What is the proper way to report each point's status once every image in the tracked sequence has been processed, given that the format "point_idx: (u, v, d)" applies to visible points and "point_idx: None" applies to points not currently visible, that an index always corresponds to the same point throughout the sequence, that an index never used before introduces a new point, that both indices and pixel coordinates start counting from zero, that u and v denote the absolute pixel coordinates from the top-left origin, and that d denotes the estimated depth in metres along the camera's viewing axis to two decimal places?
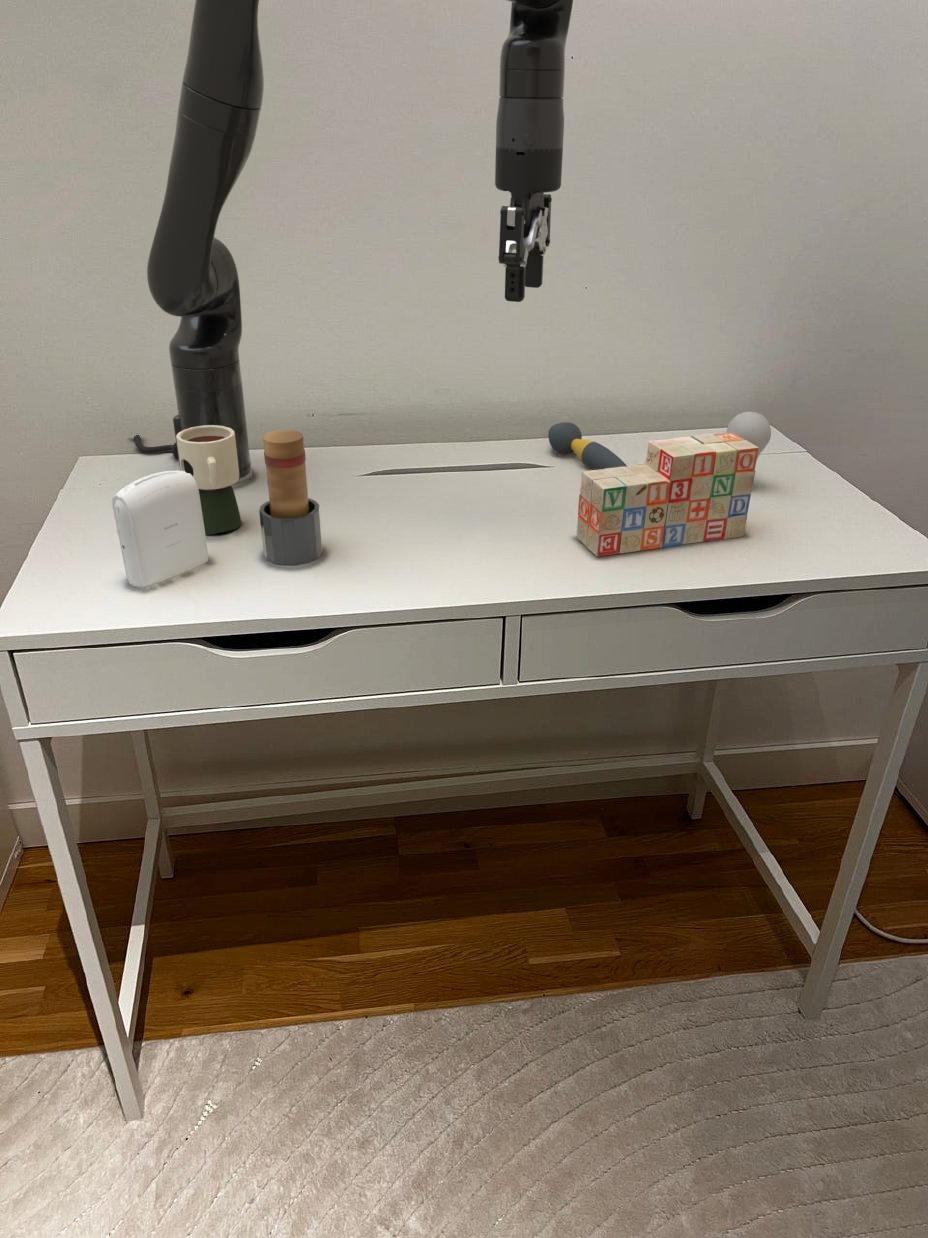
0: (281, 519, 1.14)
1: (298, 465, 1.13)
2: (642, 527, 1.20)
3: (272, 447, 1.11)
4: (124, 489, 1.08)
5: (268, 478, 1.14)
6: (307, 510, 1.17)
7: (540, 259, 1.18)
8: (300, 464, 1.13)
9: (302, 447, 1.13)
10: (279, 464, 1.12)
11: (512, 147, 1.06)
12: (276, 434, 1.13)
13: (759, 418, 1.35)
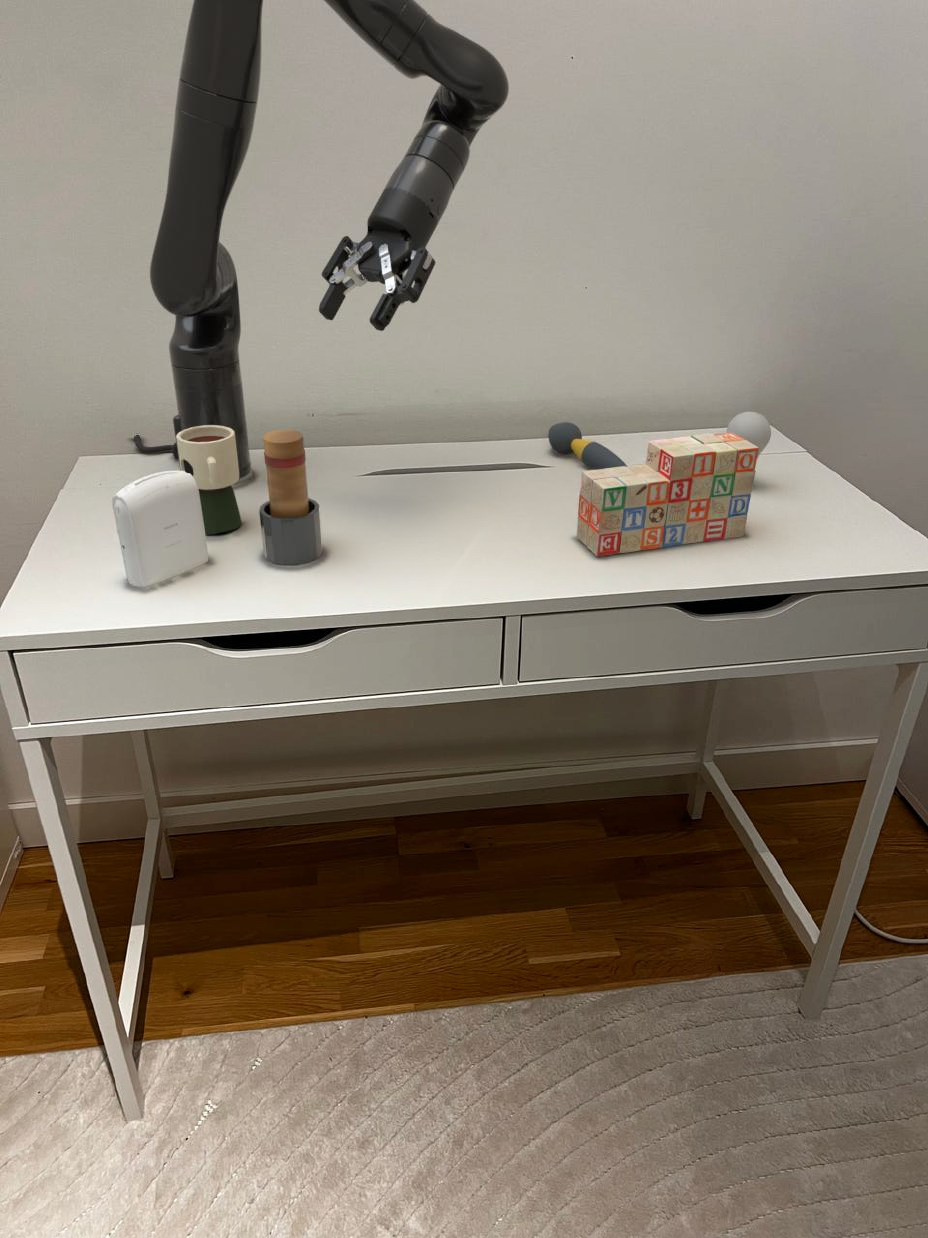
0: (281, 519, 1.14)
1: (298, 465, 1.13)
2: (642, 527, 1.20)
3: (272, 447, 1.11)
4: (124, 489, 1.08)
5: (268, 478, 1.14)
6: (307, 510, 1.17)
7: (343, 297, 1.19)
8: (300, 464, 1.13)
9: (302, 447, 1.13)
10: (279, 464, 1.12)
11: (428, 205, 1.14)
12: (276, 434, 1.13)
13: (759, 418, 1.35)
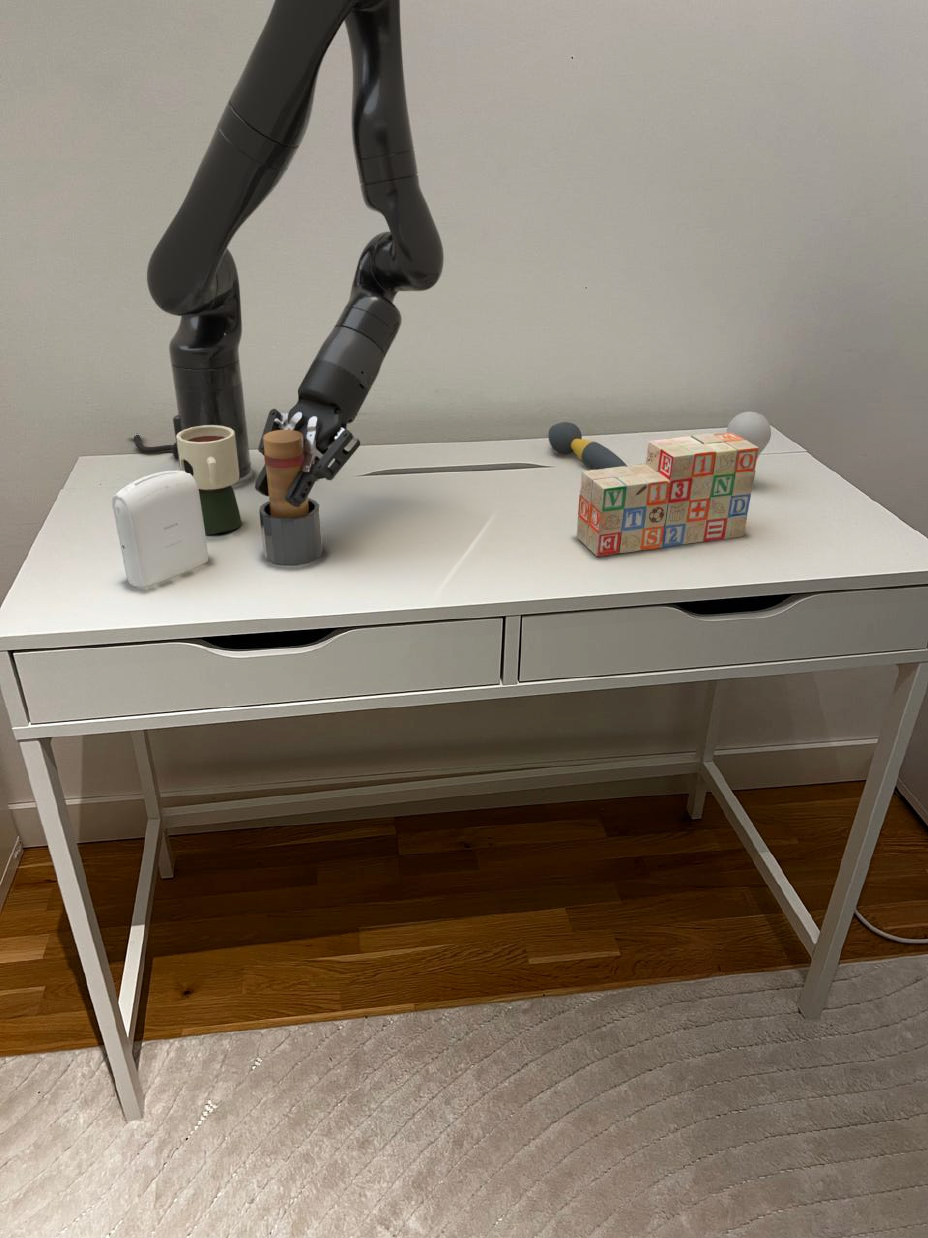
0: (281, 519, 1.14)
1: (298, 465, 1.13)
2: (642, 527, 1.20)
3: (271, 447, 1.11)
4: (124, 489, 1.08)
5: (268, 478, 1.14)
6: (307, 510, 1.17)
7: None
8: (300, 464, 1.13)
9: (302, 447, 1.13)
10: (279, 464, 1.12)
11: (358, 377, 1.14)
12: (276, 434, 1.13)
13: (759, 418, 1.35)
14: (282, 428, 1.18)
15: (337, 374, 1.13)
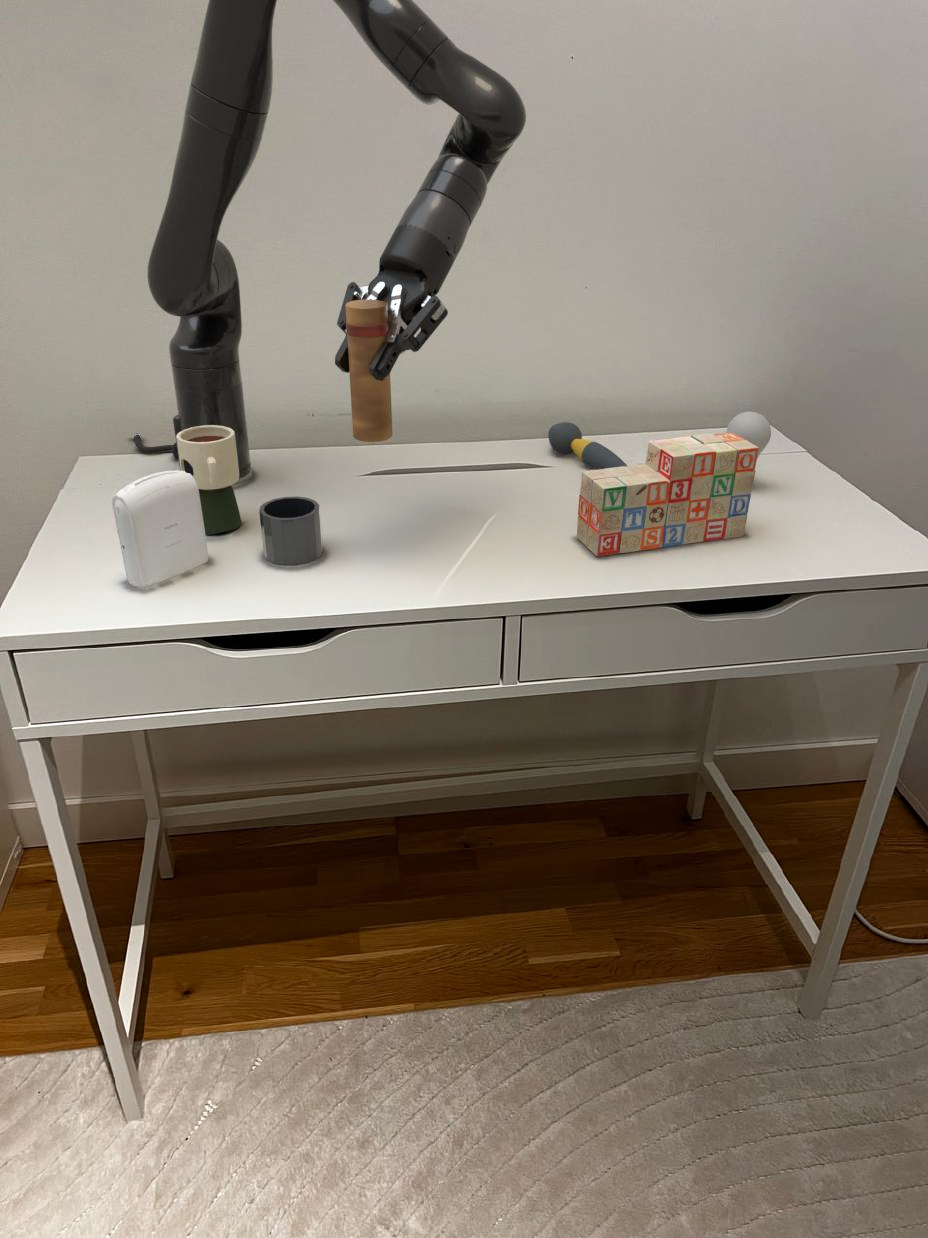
0: (281, 519, 1.14)
1: (383, 334, 1.06)
2: (642, 527, 1.20)
3: (355, 314, 1.05)
4: (124, 489, 1.08)
5: (350, 350, 1.07)
6: (389, 387, 1.10)
7: None
8: (384, 334, 1.07)
9: (386, 316, 1.06)
10: (362, 332, 1.05)
11: (445, 243, 1.08)
12: (359, 303, 1.06)
13: (759, 418, 1.35)
14: None
15: (423, 238, 1.07)
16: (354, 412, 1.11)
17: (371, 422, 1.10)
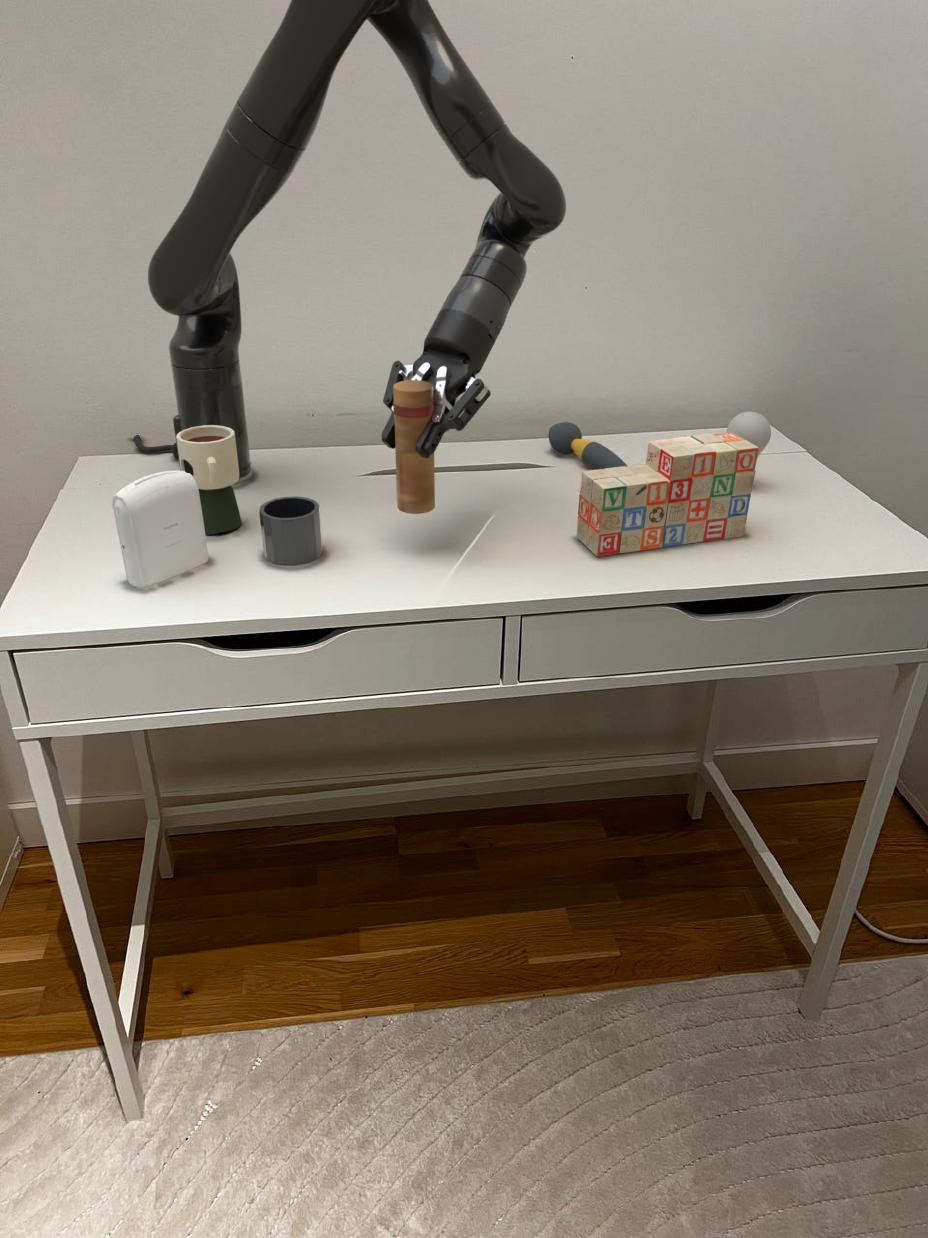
0: (281, 519, 1.14)
1: (429, 415, 1.11)
2: (642, 527, 1.20)
3: (403, 396, 1.10)
4: (124, 489, 1.08)
5: (397, 429, 1.12)
6: (433, 462, 1.15)
7: None
8: (430, 414, 1.12)
9: (432, 397, 1.11)
10: (410, 413, 1.10)
11: (488, 326, 1.13)
12: (406, 384, 1.11)
13: (759, 418, 1.35)
14: (406, 380, 1.17)
15: (467, 323, 1.12)
16: (399, 485, 1.16)
17: (415, 495, 1.15)
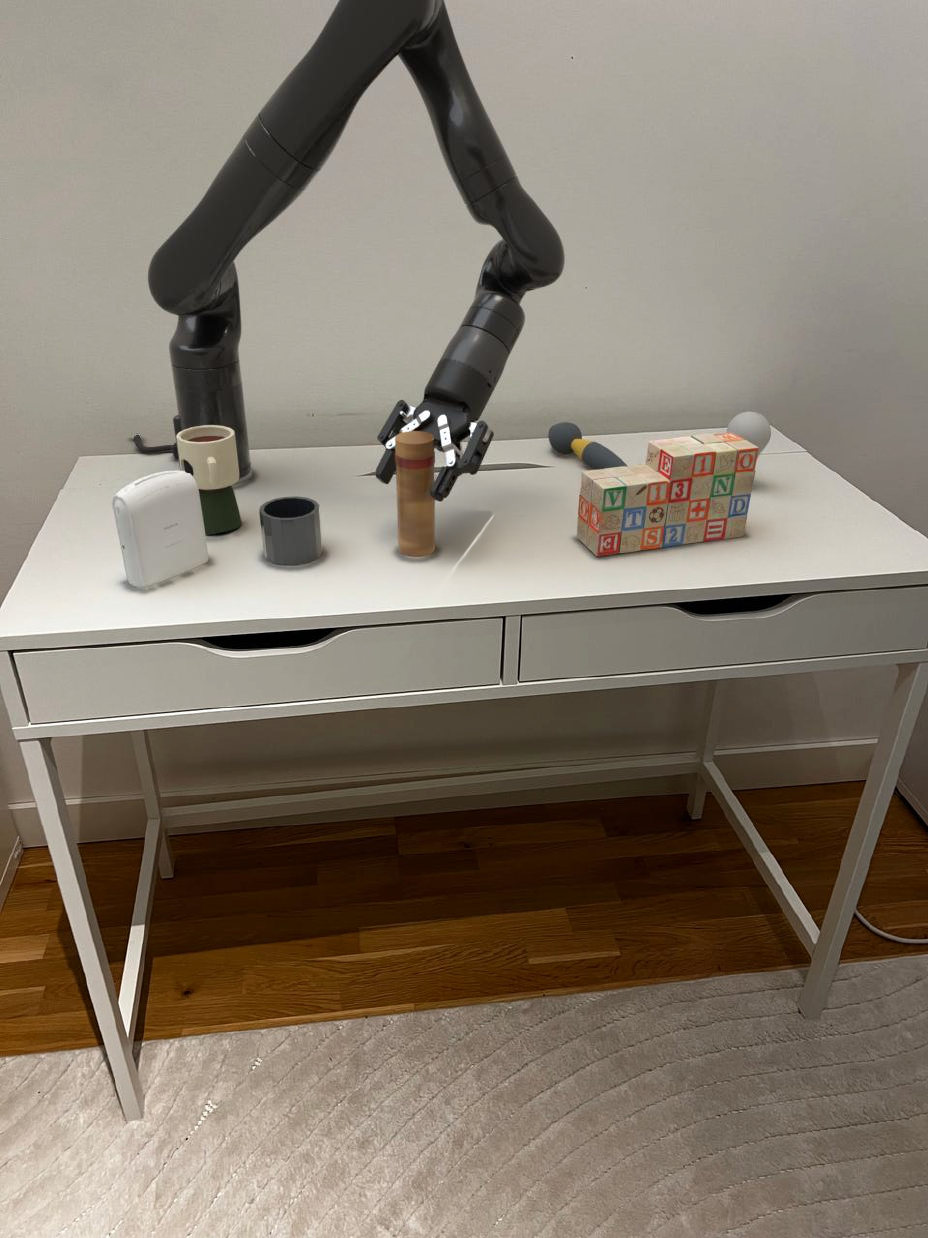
0: (281, 519, 1.14)
1: (429, 465, 1.14)
2: (642, 527, 1.20)
3: (405, 448, 1.13)
4: (124, 489, 1.08)
5: (398, 479, 1.15)
6: (434, 510, 1.18)
7: None
8: (431, 465, 1.15)
9: (433, 448, 1.14)
10: (411, 465, 1.13)
11: (486, 376, 1.16)
12: (407, 436, 1.14)
13: (759, 418, 1.35)
14: (405, 421, 1.20)
15: (467, 373, 1.15)
16: (400, 533, 1.19)
17: (416, 542, 1.18)
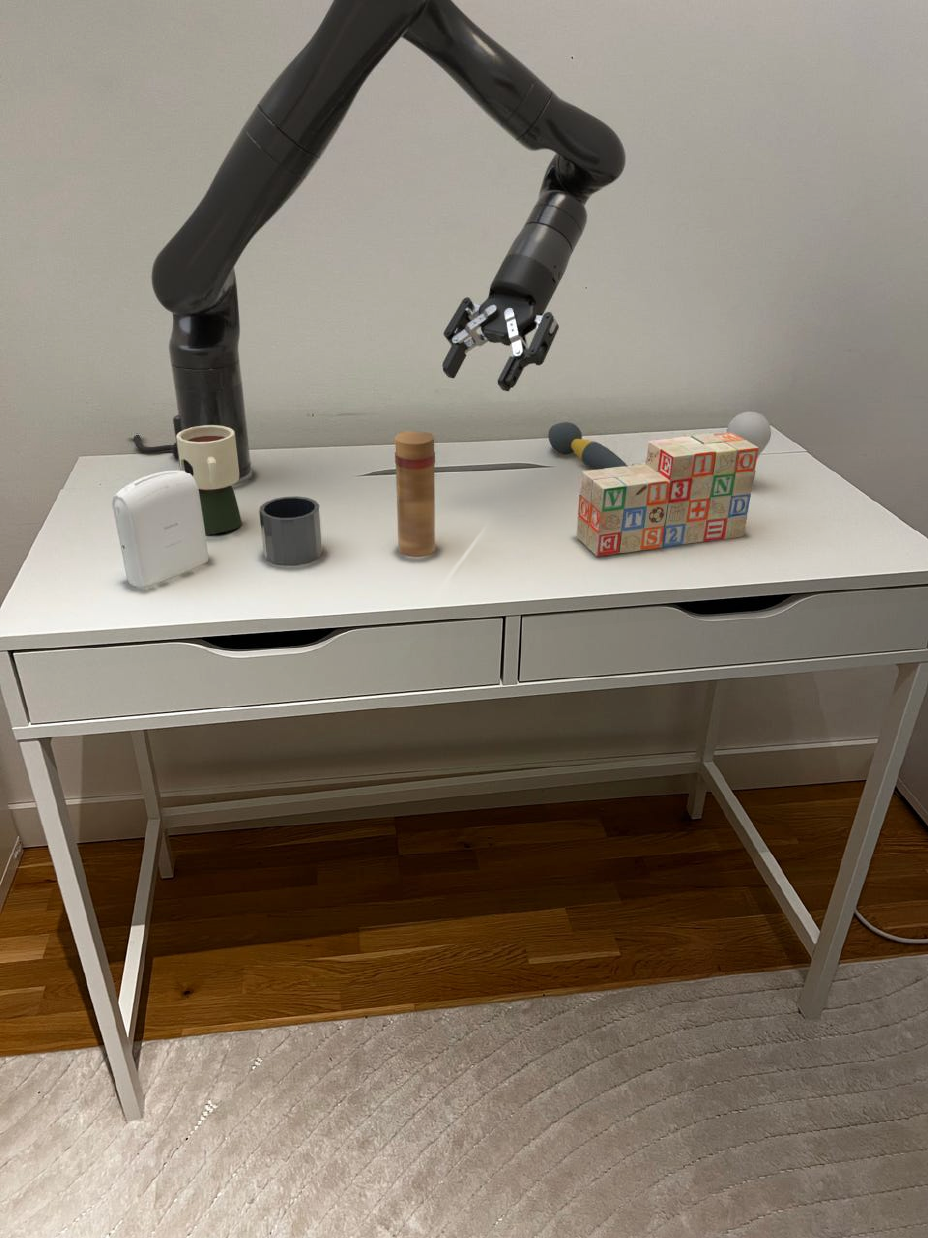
0: (281, 519, 1.14)
1: (429, 465, 1.14)
2: (642, 527, 1.20)
3: (405, 448, 1.13)
4: (124, 489, 1.08)
5: (398, 479, 1.15)
6: (434, 510, 1.18)
7: (464, 356, 1.23)
8: (431, 465, 1.15)
9: (433, 448, 1.14)
10: (411, 465, 1.13)
11: (552, 271, 1.20)
12: (407, 436, 1.14)
13: (759, 418, 1.35)
14: (470, 318, 1.24)
15: (533, 267, 1.18)
16: (400, 533, 1.19)
17: (416, 542, 1.18)
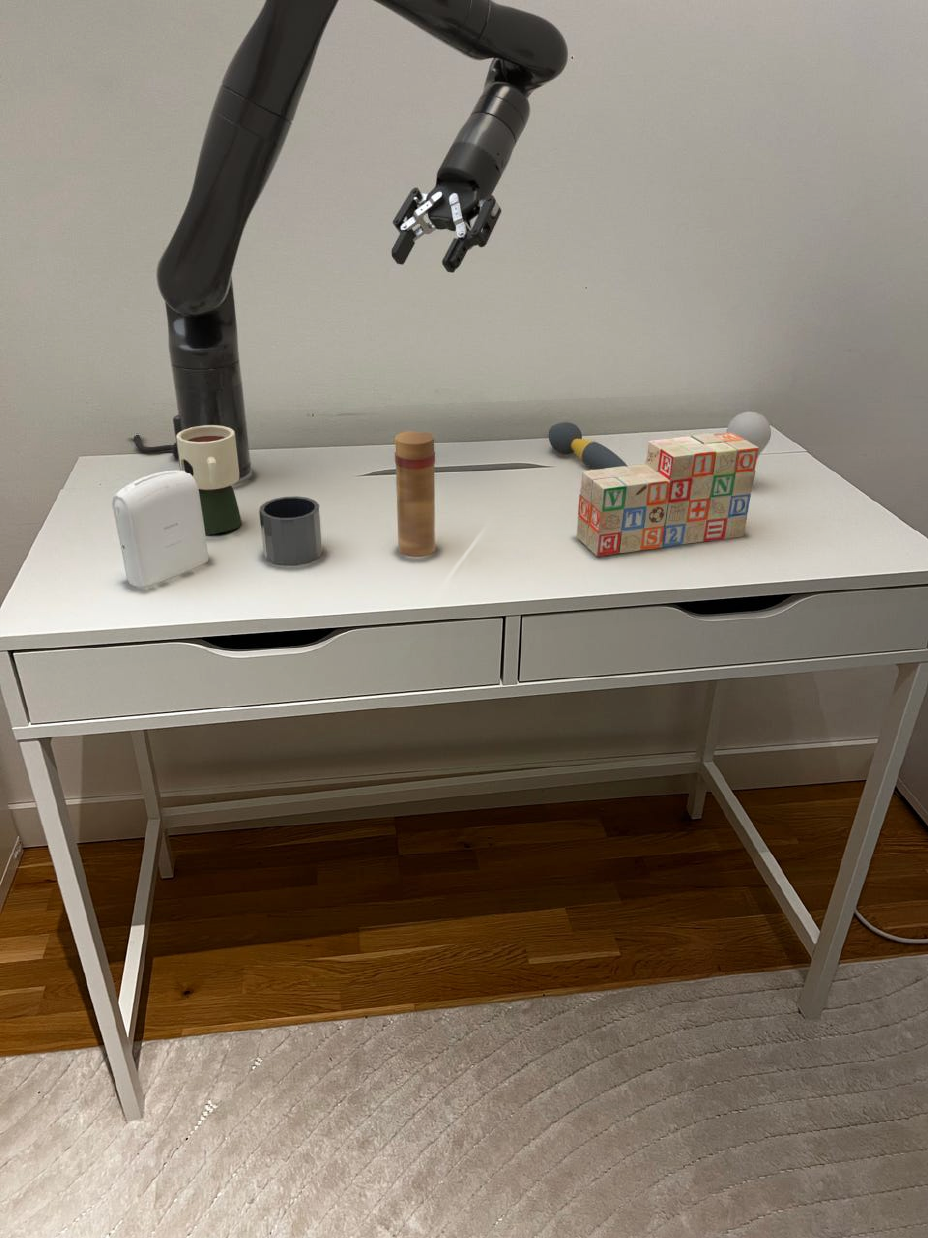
0: (281, 519, 1.14)
1: (429, 465, 1.14)
2: (642, 527, 1.20)
3: (405, 448, 1.13)
4: (124, 489, 1.08)
5: (398, 479, 1.15)
6: (434, 510, 1.18)
7: (413, 244, 1.29)
8: (431, 465, 1.15)
9: (433, 448, 1.14)
10: (411, 465, 1.13)
11: (494, 158, 1.25)
12: (407, 436, 1.14)
13: (759, 418, 1.35)
14: (419, 207, 1.29)
15: (476, 153, 1.24)
16: (400, 533, 1.19)
17: (416, 542, 1.18)
